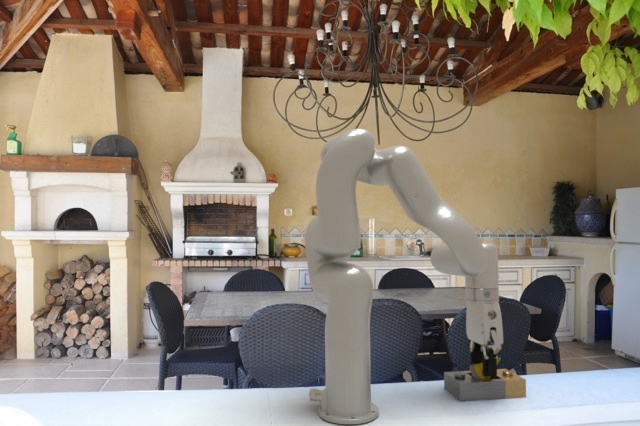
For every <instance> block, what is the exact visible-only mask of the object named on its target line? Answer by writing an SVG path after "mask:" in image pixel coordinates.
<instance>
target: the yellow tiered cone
mask: <svg viewBox="0 0 640 426" xmlns="http://www.w3.org/2000/svg"><path fill="white" fill-rule="evenodd" d="M500 361H501V357H498V358H497V365H498V364H499V362H500ZM469 371H471V373H472V377H473V378H475V379H477V380H489V379H490V377H491V376H488V377H485V376H483V363H479V364H472V365H471V364H470V365H469Z"/></svg>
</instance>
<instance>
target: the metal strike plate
mask: <svg viewBox="0 0 640 426" xmlns="http://www.w3.org/2000/svg"><path fill="white" fill-rule="evenodd" d="M443 385H444V386H443V388H444V391H446V392H447V393H449V394H450V395H451V394H452V397H454V398H455V397H456V398H457V399H456V398H455V399H456V400H457V401H459V402H470V401H472V402H474V401H485V400H486V401H487V400H500V399H501V400H502V399H503V400H504V399H518V398H526V397H527V379H525V378H524V377H522V376H520V375H518V374H516V373H515V372H513V371H512V370H509V369H507V368H497V376H491V377H490V379H489V380H477V379H475V378H473V377H472V373H471V371H470V370H461V371H460V370H459V371H458V370H457V371H444V372H443Z"/></svg>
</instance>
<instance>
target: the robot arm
mask: <svg viewBox="0 0 640 426" xmlns="http://www.w3.org/2000/svg"><path fill="white" fill-rule="evenodd" d="M320 151H321V152H320V159H321V163H320V165H319V167H318V171H317V174H316V180H315V199H316V210H317V211H316V213H317V215H316V216H315V217H313V218H312V219H311V220H310V221H309V223H308V224H307V226H306V229H305V233H304V246H305V247H304V249H305V255H306V262H307V263H306V264H307V271H308V277H309V284H310V287H311V289H312V292H313V293H314V295H315V296H316V298H318V299H319V300H320V301H322V302H325V303H326V304H327V303H328V304H327V309H326V310H327V311H326V316H325V322H324V348H325V349H324V350H325V351H324V353H325V354H324V355H325V356H324V359H325V363H324V365H325V388H324V389H323V390H321V389H318V388H310V389H309V391H308V396H309V401H311V402H319V403H320V405H319V407H318V415H319V417H320V418H321V419H323V420H324V421H326V422H330V423H332V424H338V425H360V424H361V425H362V424H366V423H369V422H372V421H373V420H376V418H378V416H379V409H380V408H379V407H378V406H377V405H376V404H375V403H373V402H372V398H371V397H372V395H371V394H372V391H371V390H372V389H371V388H372V384H371V383H372V381H371V380H372V379H371V376H372V375H371V333H370V332H371V312H372V305H373V300H374V299H373V298H374V285H373V281H372V276H370V274H369V273H368V272H367V271H366V269H364V268H363V267H361V266H360V265H359V264H358V265H357V264H355V263H349V262H347V257H349V256H350V257H351V256H352V255H354V254H356V252H357V251H358V250H359V249H360V246H361V243H362V235H361V226H360V218H359V211H358V203H357V182H360V183H364V184H368V185H373V186H378V187H379V186H381V187H383V186H384V187H385V186H389V188H390V190H391V192H392V193H393V195H394V196H395V198H396V200H397V201H398V203H399V204H400V206H401V208H402V210H403V212H404V213H405V215H406V216H407V218H408V219H409V220H410V221H412V222H414V223H415V224H417V225H418V226H420V227H421V228H422V227H423V228H425V229H427V230H428V231H431V232H432V233H433V234H435V235H436V236H437V237H439V238H440V240H441V241H443V243H439V244H438V245H436V246H435V247H434V248H433V250H432V251H431V253H430V264H431V265H432V267H433V268H434V269H435V270H436V271H437V272H439V273H440V274H444V275H445V274H446V275H450V276H459V277H464V278H465V279H464V280H465V283H464V284H465V301H466V310H465V311H466V317H465V319H466V320H465V330H466V337H467V338H468V343H469V352H470V366H471V365H472V364H479V363H483V376H485V377H488V376H497V369H498V364H497V358H499V356H498V355H499V352H500V351H501V350H502V345H503V344H504V330H503V318H502V312H501V306H500V303H499V302H500V292H499V291H500V290H499V288H500V287H499V285H500V284H499V283H500V282H499V250H498V247H497V245H496V244H495V243H491V242H481V239H480V238H479V236H478V234H477V233H476V231H475V229H474V228H473V227H472V225H471V224H470V223H469V222H468V221H467V220H466V219H465V218H464V217H463V216H462V215H461V214H460V213H459V212H457V210H455V209H454V208H453V207H452V206H451V205H449V204H448V203H447V202H446V201H444V199H442V198H441V196H440V194H439V193H438V191H437V190H436V188H435V186H434V185H433V183H432V180H431V179H430V177H429V176H428V174H427V172H426V170H425V168H424V167H423V166H422V164H421V162H420V161H419V158H418V157H417V156H416V154H415V153H414V151H413V150H412V149H411V148H409V147H408V146H405V145H393V146H389V147H387V148H383V149H377V142H376V139H375V137H374V135H373V134H372V133H371V132H370V131H369V130H367V129H366V128H353V129H350V130H346V131H345V132H342V133H341V134H339V135H337V136H334V137H331V138H330V139H328V140H327V141H326V142H325V143H324V144H323V146H322V148H321V150H320ZM489 343H491V344H489Z"/></svg>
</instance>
